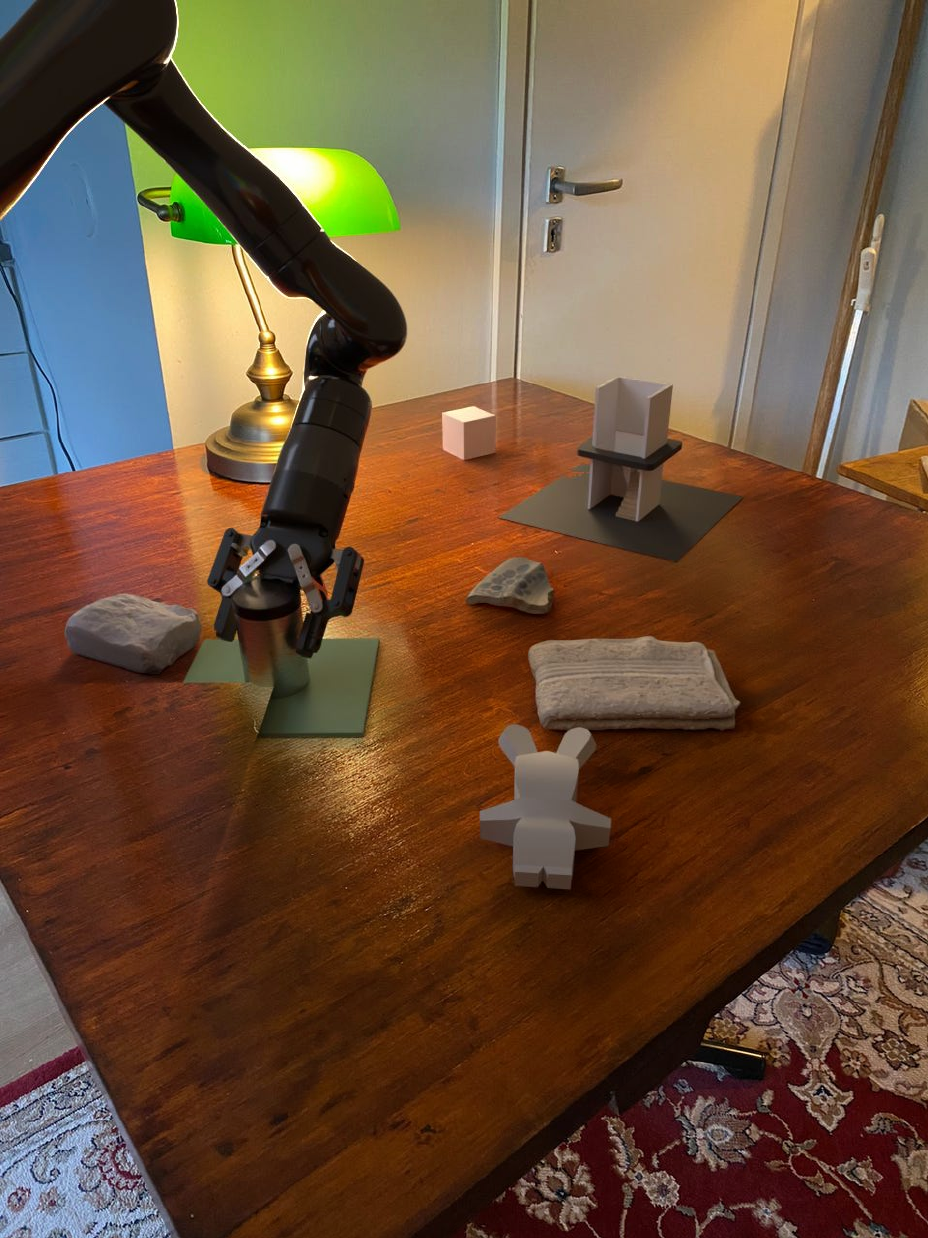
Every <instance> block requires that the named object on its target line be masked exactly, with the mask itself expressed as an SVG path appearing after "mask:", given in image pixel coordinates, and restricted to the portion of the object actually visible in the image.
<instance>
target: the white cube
mask: <svg viewBox="0 0 928 1238" xmlns="http://www.w3.org/2000/svg"><path fill="white" fill-rule="evenodd" d="M496 415H497V414H496ZM496 415H495V414H494V413H492V412H488V411H487V410H484V409H481V408H479V407H478V406H474V405H473V406H472V405H471V406H468V407H463V408H458V409H453V410H449V411H444V412H441V428H442V429H441V431H442V432H441V433H442V435H441V436H442V451H445V452H446V453H448V454H450V455H451V456H452V455H453V456H454V457H457V458H458V459H461V460H462V461H467V460H471V459H475V458H478V457H479V458H480V457H483V456H487V455H492V454H495V453H496V434H497V433H496V428H497V427H496V426H497V425H496V423H497V422H496V421H497V420H496V418H497V417H496Z"/></svg>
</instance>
